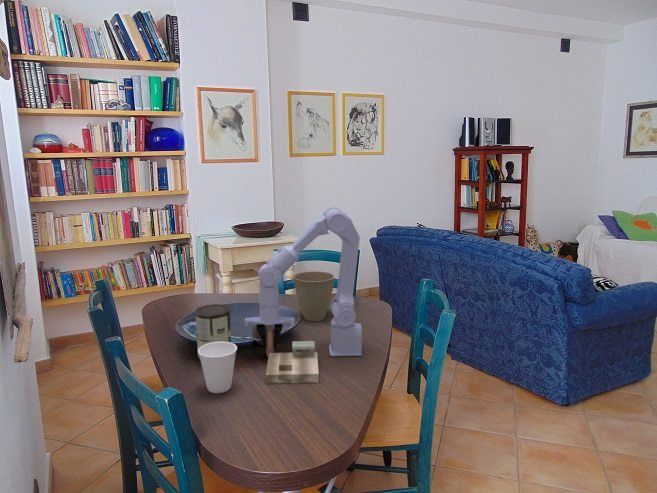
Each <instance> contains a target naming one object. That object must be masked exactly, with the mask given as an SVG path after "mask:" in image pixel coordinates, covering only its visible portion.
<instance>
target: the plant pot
mask: <svg viewBox="0 0 657 493" xmlns="http://www.w3.org/2000/svg"><path fill="white" fill-rule="evenodd" d="M335 276H336V275H335V274H334V273H330V272H328V271H327V272H326V271H320V270H318V271H315V270H314V271H312V270H310V271H303V272H302V271H301V272H297V273H296V274H294V275H293V277H292V278H293V282H294V289H295V294H296V297H297V301H298V304H299V305H298V306H299V308H300V311H301V313H302V316H303V319H305V320H306V321H310V322H320V321H323V320H324V319H325V317H326V315H327V312H328V309H329V306H330V302H331V299H332V297H333V296H332V295H333V290H334V285H335V284H334V283H335V278H336V277H335Z"/></svg>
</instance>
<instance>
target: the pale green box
mask: <svg viewBox="0 0 657 493" xmlns="http://www.w3.org/2000/svg"><path fill="white" fill-rule="evenodd" d="M291 342H292V343H291V344H292V347H291V348H292V353H293V356H297V352H298V350H309V352H310V356H314V352H315V350H316V345H315V340H306V341H305V340H302V341H301V340H297V341H296V340H294V341H291Z"/></svg>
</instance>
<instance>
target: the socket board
mask: <svg viewBox="0 0 657 493" xmlns="http://www.w3.org/2000/svg"><path fill="white" fill-rule="evenodd" d="M267 359H268V360H267V365H266V373H265V384H268V385H269V384H309V383H310V384H311V383H316V384H317V383H320V382H319V380H320V379H319V378H320V377H319V374H320V373H319V362H318V361H319V359H318V352H316V351H314V356H310V351H309V352H307V351H303V352H302V351H301V352H298V351H297V356H293V352H274V353H269V357H268V358H267Z"/></svg>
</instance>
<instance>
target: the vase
mask: <svg viewBox="0 0 657 493" xmlns="http://www.w3.org/2000/svg"><path fill="white" fill-rule="evenodd" d="M258 317H260V315H259V316H258ZM256 328H257V325H252V328H251V336H252V339H253V338H256V339H261V338H260V336H259V334H258V332H257V330H256ZM267 329H274V325H266V330H267ZM259 345H260V346H261V345H262V346H263V343H262V342H261V344H259Z"/></svg>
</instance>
